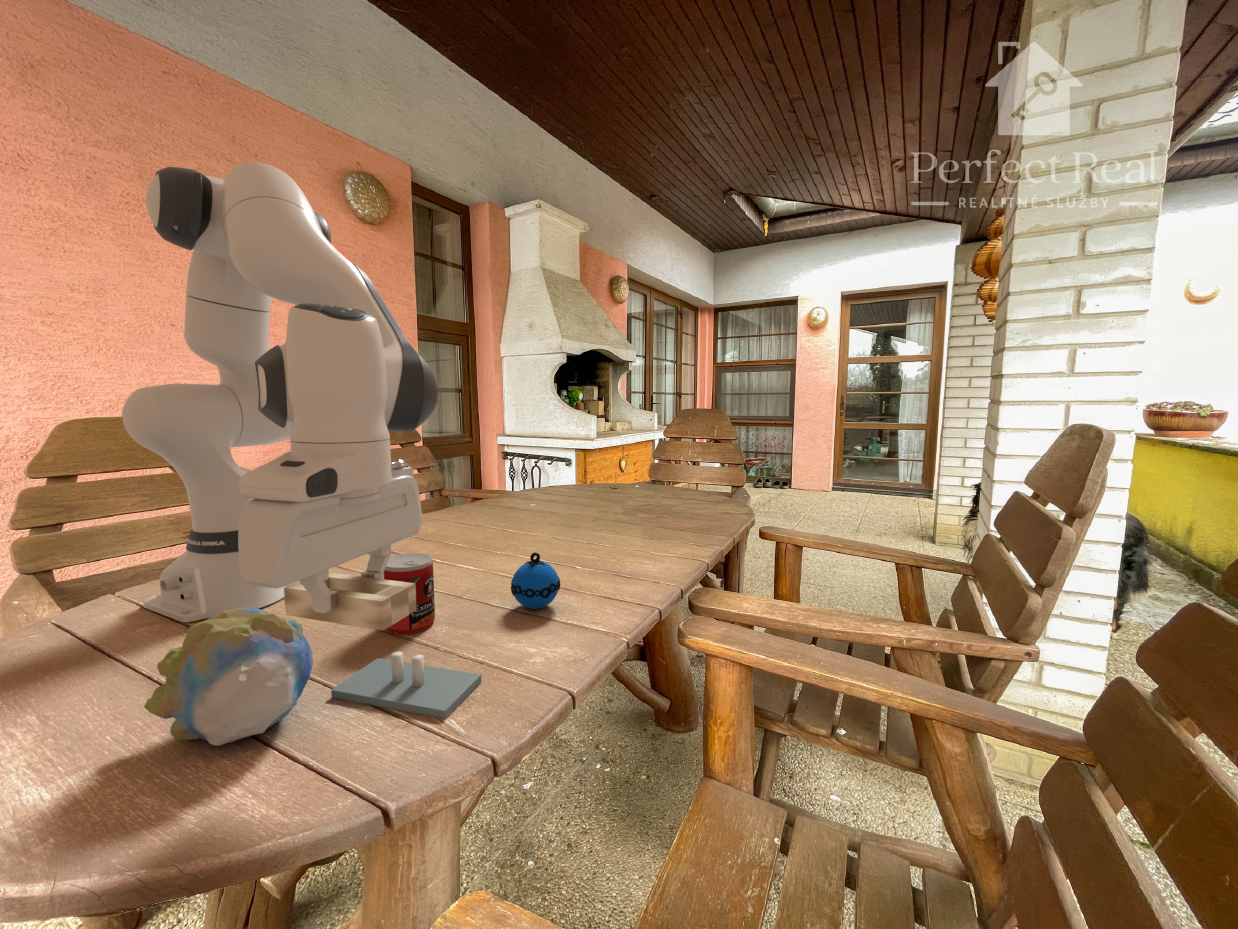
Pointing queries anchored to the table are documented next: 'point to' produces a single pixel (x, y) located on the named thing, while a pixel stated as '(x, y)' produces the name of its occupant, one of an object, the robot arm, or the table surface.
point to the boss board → (408, 686)
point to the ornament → (535, 583)
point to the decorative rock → (233, 676)
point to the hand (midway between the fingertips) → (350, 598)
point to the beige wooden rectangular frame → (356, 601)
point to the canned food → (420, 573)
